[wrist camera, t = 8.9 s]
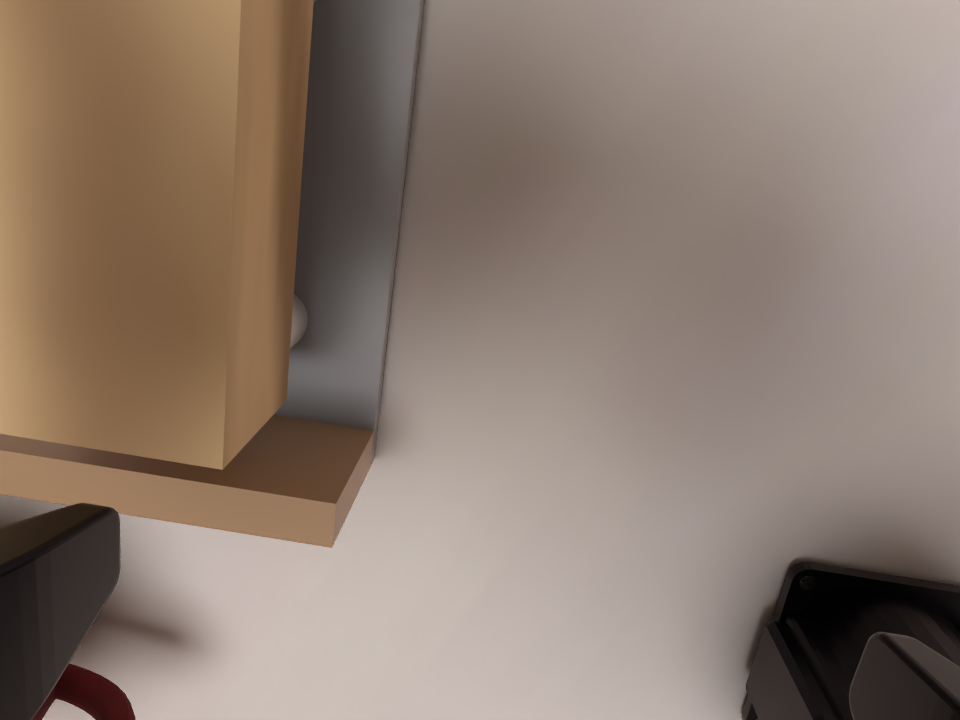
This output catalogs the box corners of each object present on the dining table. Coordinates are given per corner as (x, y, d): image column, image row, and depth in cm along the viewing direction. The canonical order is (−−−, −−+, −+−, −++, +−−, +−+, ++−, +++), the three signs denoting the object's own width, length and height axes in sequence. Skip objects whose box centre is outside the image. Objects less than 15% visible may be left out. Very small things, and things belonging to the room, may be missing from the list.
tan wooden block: (323, -139, 14) (250, -241, 11) (286, 400, 18) (222, 469, 14) (84, -175, 14) (-73, -289, 11) (96, 370, 18) (-19, 430, 14)
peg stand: (446, -208, 16) (415, -352, 12) (374, 458, 22) (331, 547, 17) (71, -263, 17) (-112, -428, 12) (89, 413, 22) (-33, 489, 17)
